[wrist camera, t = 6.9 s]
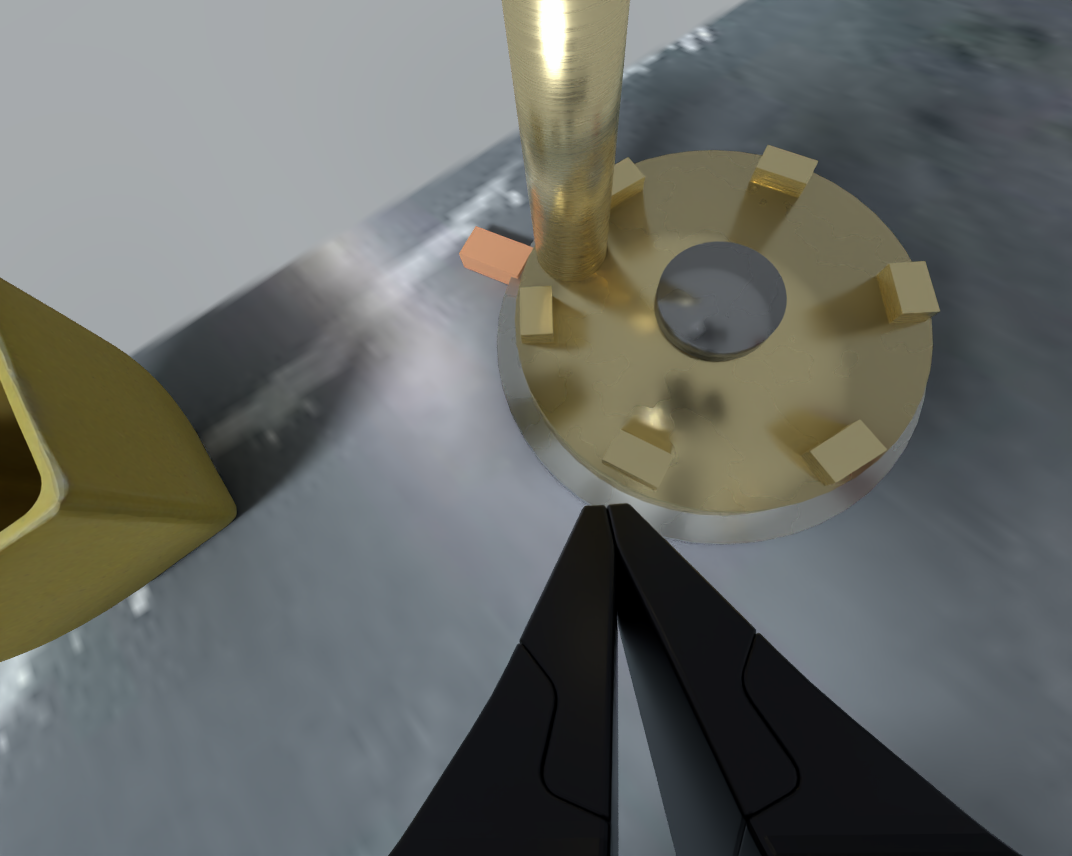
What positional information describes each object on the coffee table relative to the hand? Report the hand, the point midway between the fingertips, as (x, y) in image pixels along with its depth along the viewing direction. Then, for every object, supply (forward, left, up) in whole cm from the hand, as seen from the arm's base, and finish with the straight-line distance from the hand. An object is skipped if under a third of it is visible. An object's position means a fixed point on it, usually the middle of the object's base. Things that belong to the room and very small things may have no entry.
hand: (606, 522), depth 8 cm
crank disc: (+9, -1, -9) cm, 13 cm away
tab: (+10, +8, -9) cm, 16 cm away
